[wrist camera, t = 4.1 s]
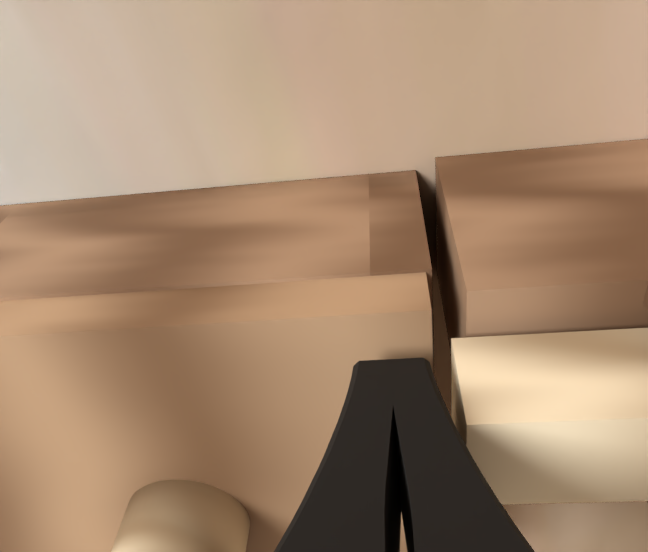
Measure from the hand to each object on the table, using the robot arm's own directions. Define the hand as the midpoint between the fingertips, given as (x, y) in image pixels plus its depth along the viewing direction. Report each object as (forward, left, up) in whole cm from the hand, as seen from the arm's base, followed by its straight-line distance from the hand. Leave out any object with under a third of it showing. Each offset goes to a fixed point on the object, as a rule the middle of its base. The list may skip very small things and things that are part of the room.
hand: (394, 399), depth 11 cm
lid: (-5, -5, -2) cm, 7 cm away
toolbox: (-5, -5, -6) cm, 9 cm away
